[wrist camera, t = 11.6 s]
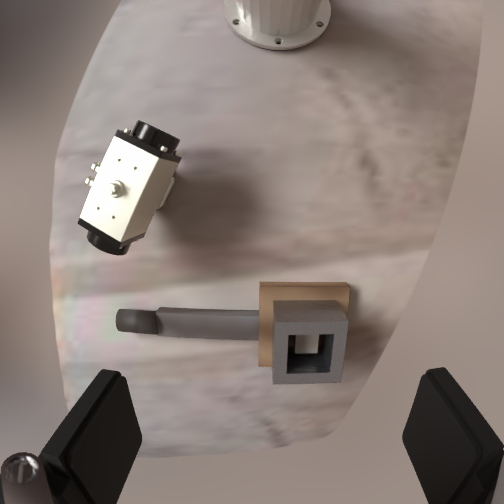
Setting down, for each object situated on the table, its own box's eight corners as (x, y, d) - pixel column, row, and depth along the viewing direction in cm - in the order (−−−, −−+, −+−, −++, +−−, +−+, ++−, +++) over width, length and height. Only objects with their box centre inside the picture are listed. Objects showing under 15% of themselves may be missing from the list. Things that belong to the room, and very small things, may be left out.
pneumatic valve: (198, 149, 34) (167, 133, 23) (153, 241, 37) (107, 266, 25) (157, 129, 34) (111, 107, 22) (115, 219, 36) (58, 235, 25)
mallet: (120, 278, 38) (100, 291, 32) (345, 282, 37) (358, 297, 31) (129, 350, 40) (113, 371, 34) (337, 357, 39) (347, 380, 33)
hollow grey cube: (273, 300, 35) (274, 322, 30) (335, 299, 35) (348, 321, 29) (271, 355, 37) (272, 384, 31) (330, 354, 37) (340, 382, 31)
